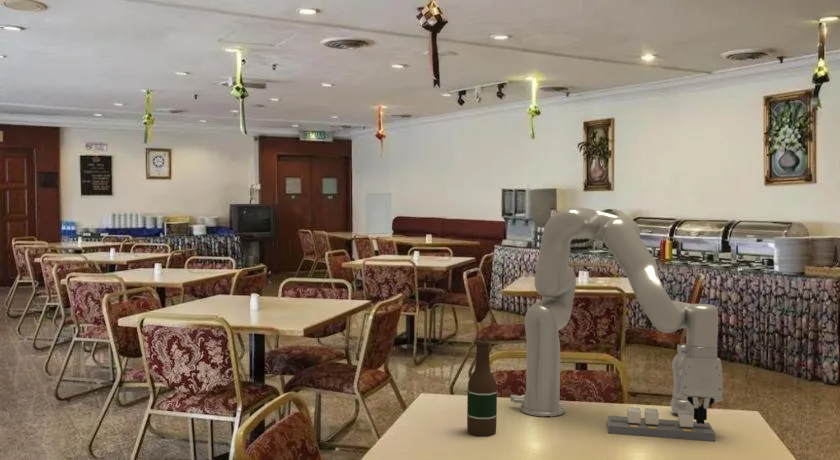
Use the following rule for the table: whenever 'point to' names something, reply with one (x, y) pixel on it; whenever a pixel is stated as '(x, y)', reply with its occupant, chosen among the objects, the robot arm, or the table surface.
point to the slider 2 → (651, 416)
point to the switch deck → (661, 429)
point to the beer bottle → (482, 395)
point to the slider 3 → (685, 418)
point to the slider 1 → (633, 415)
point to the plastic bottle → (676, 401)
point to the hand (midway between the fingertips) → (700, 422)
